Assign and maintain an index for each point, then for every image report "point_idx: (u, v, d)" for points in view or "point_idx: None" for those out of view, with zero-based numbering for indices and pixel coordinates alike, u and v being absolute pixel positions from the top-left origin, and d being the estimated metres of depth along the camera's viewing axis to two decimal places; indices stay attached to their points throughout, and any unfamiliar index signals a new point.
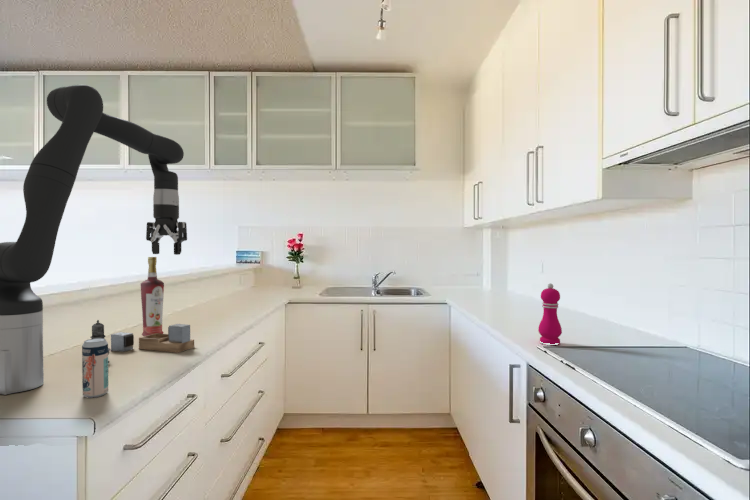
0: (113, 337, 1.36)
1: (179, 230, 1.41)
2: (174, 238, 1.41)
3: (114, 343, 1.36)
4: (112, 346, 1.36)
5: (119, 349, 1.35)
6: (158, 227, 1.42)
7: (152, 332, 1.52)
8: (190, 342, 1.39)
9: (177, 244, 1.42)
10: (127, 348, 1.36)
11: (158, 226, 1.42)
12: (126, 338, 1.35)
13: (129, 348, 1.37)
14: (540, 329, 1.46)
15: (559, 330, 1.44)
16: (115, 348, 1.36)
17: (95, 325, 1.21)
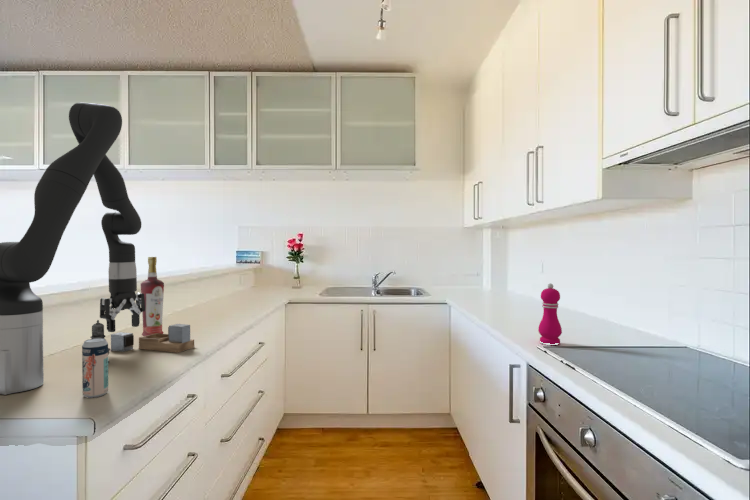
0: (113, 337, 1.36)
1: (142, 301, 1.43)
2: (138, 310, 1.41)
3: (114, 343, 1.36)
4: (112, 346, 1.36)
5: (119, 349, 1.35)
6: (124, 302, 1.35)
7: (152, 332, 1.52)
8: (190, 342, 1.39)
9: None
10: (127, 348, 1.36)
11: (124, 301, 1.36)
12: (126, 338, 1.35)
13: (129, 348, 1.37)
14: (540, 329, 1.46)
15: (559, 330, 1.44)
16: (115, 348, 1.36)
17: (95, 325, 1.21)
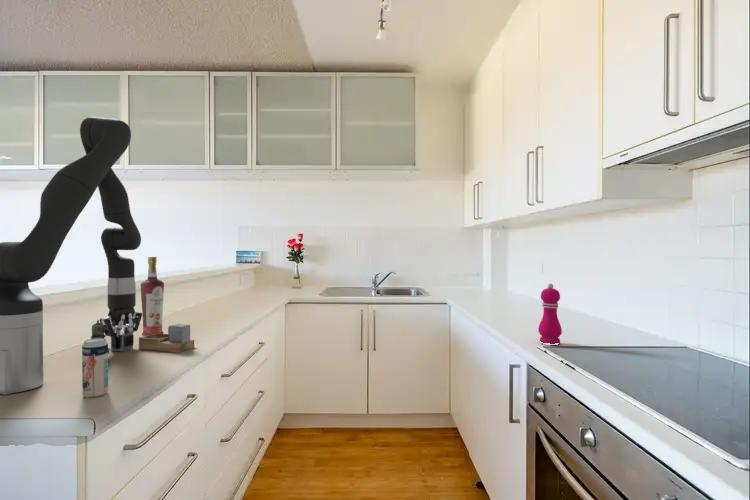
0: None
1: (138, 321, 1.42)
2: (131, 329, 1.39)
3: None
4: None
5: (119, 349, 1.35)
6: (123, 317, 1.35)
7: (152, 332, 1.52)
8: (190, 342, 1.39)
9: None
10: (127, 348, 1.36)
11: (123, 316, 1.35)
12: (126, 338, 1.35)
13: (129, 348, 1.37)
14: (540, 329, 1.46)
15: (559, 330, 1.44)
16: None
17: (95, 325, 1.21)
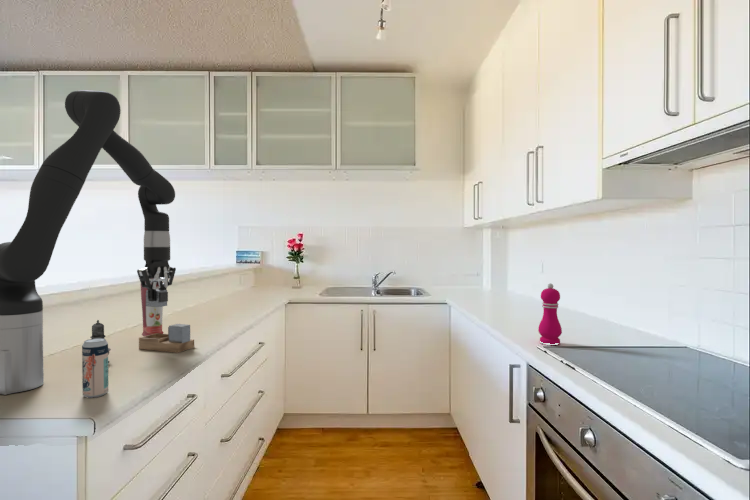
0: None
1: (172, 275, 1.45)
2: (166, 283, 1.42)
3: None
4: (147, 302, 1.39)
5: (154, 305, 1.38)
6: (159, 270, 1.38)
7: (152, 332, 1.52)
8: (190, 342, 1.39)
9: (165, 289, 1.43)
10: (162, 304, 1.39)
11: (159, 268, 1.38)
12: (161, 294, 1.38)
13: (163, 304, 1.40)
14: (540, 329, 1.46)
15: (559, 330, 1.44)
16: (150, 304, 1.39)
17: (95, 325, 1.21)
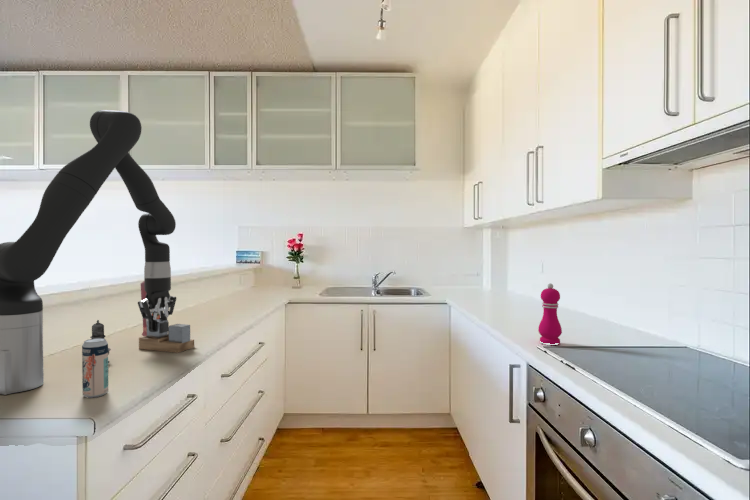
0: None
1: (173, 304, 1.45)
2: (166, 313, 1.42)
3: None
4: (148, 332, 1.40)
5: (155, 335, 1.39)
6: (159, 300, 1.39)
7: None
8: (190, 342, 1.39)
9: None
10: (162, 334, 1.39)
11: (159, 299, 1.39)
12: (162, 324, 1.39)
13: (164, 334, 1.40)
14: (540, 329, 1.46)
15: (559, 330, 1.44)
16: (150, 334, 1.39)
17: (95, 325, 1.21)
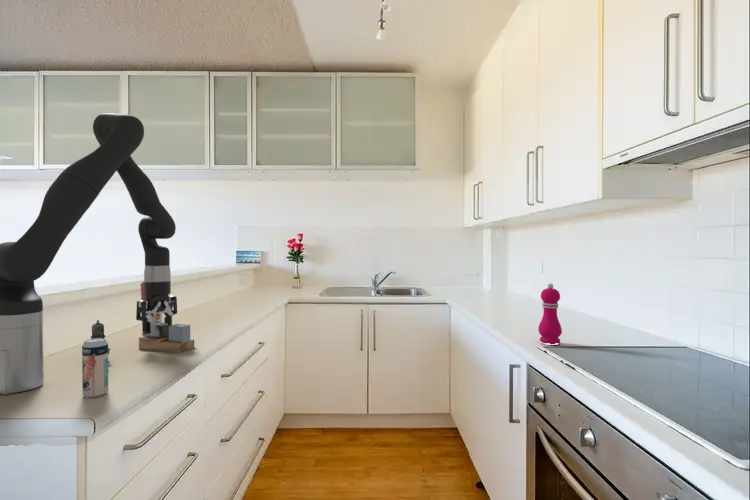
0: None
1: (175, 304, 1.46)
2: (170, 313, 1.44)
3: None
4: (148, 335, 1.40)
5: (155, 338, 1.39)
6: (159, 304, 1.38)
7: None
8: (190, 342, 1.39)
9: (171, 318, 1.45)
10: (162, 337, 1.39)
11: (159, 303, 1.39)
12: (161, 328, 1.39)
13: (164, 337, 1.40)
14: (540, 329, 1.46)
15: (559, 330, 1.44)
16: None
17: (95, 325, 1.21)
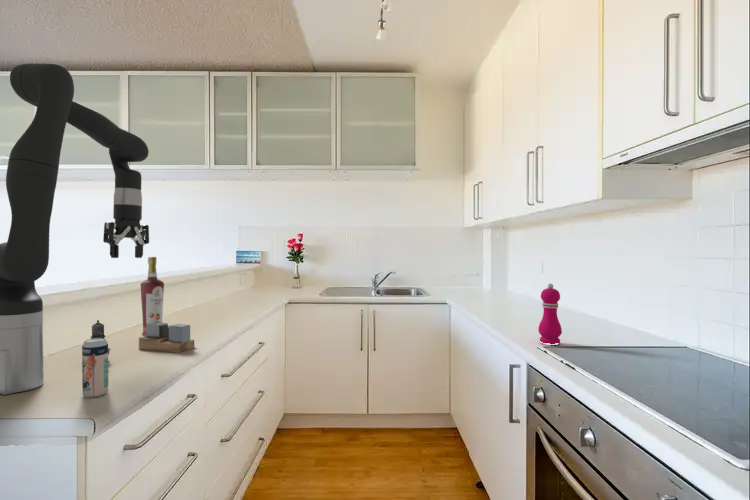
0: (149, 327, 1.39)
1: (147, 233, 1.40)
2: (141, 241, 1.39)
3: (149, 333, 1.39)
4: (148, 335, 1.40)
5: (155, 338, 1.39)
6: (128, 229, 1.33)
7: None
8: (190, 342, 1.39)
9: (142, 247, 1.39)
10: (162, 337, 1.39)
11: (129, 228, 1.33)
12: (161, 328, 1.39)
13: (164, 337, 1.40)
14: (540, 329, 1.46)
15: (559, 330, 1.44)
16: None
17: (95, 325, 1.21)
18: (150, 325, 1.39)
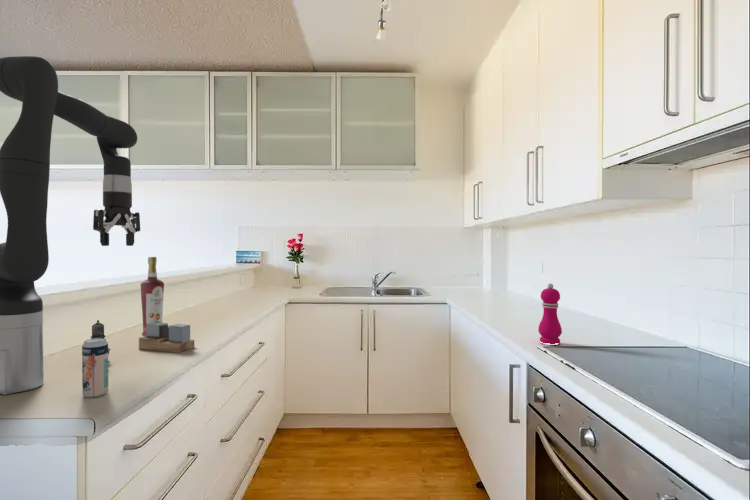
0: (149, 327, 1.39)
1: (138, 221, 1.39)
2: (132, 229, 1.37)
3: (149, 333, 1.39)
4: (148, 335, 1.40)
5: (155, 338, 1.39)
6: (118, 216, 1.31)
7: None
8: (190, 342, 1.39)
9: (133, 235, 1.38)
10: (162, 337, 1.39)
11: (119, 215, 1.31)
12: (161, 328, 1.39)
13: (164, 337, 1.40)
14: (540, 329, 1.46)
15: (559, 330, 1.44)
16: None
17: (95, 325, 1.21)
18: (150, 325, 1.39)
